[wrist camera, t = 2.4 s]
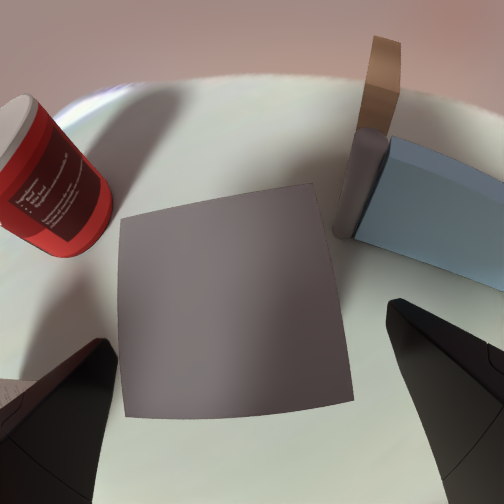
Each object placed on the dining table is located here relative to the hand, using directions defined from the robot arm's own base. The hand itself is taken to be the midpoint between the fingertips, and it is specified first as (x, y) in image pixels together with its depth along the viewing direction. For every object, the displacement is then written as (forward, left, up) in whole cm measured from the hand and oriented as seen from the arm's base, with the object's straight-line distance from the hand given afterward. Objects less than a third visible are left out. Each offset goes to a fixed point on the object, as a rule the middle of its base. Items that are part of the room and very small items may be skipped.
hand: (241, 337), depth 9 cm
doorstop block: (+1, 0, -8) cm, 8 cm away
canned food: (+11, +14, -8) cm, 20 cm away
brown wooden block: (+10, -8, -8) cm, 15 cm away
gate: (+3, -12, -8) cm, 15 cm away
